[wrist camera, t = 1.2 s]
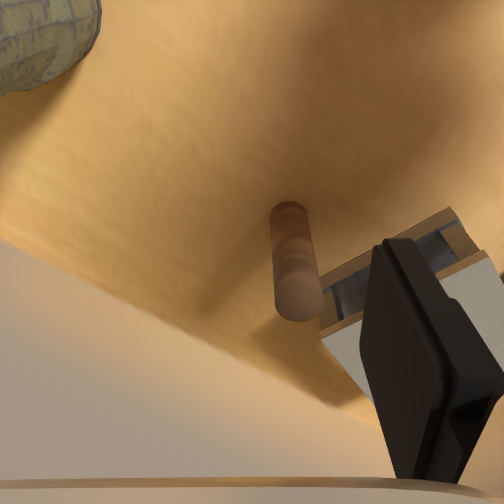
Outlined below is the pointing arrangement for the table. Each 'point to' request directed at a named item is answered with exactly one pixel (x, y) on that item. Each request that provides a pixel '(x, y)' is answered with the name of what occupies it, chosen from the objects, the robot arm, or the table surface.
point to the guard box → (448, 274)
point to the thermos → (44, 39)
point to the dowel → (294, 264)
